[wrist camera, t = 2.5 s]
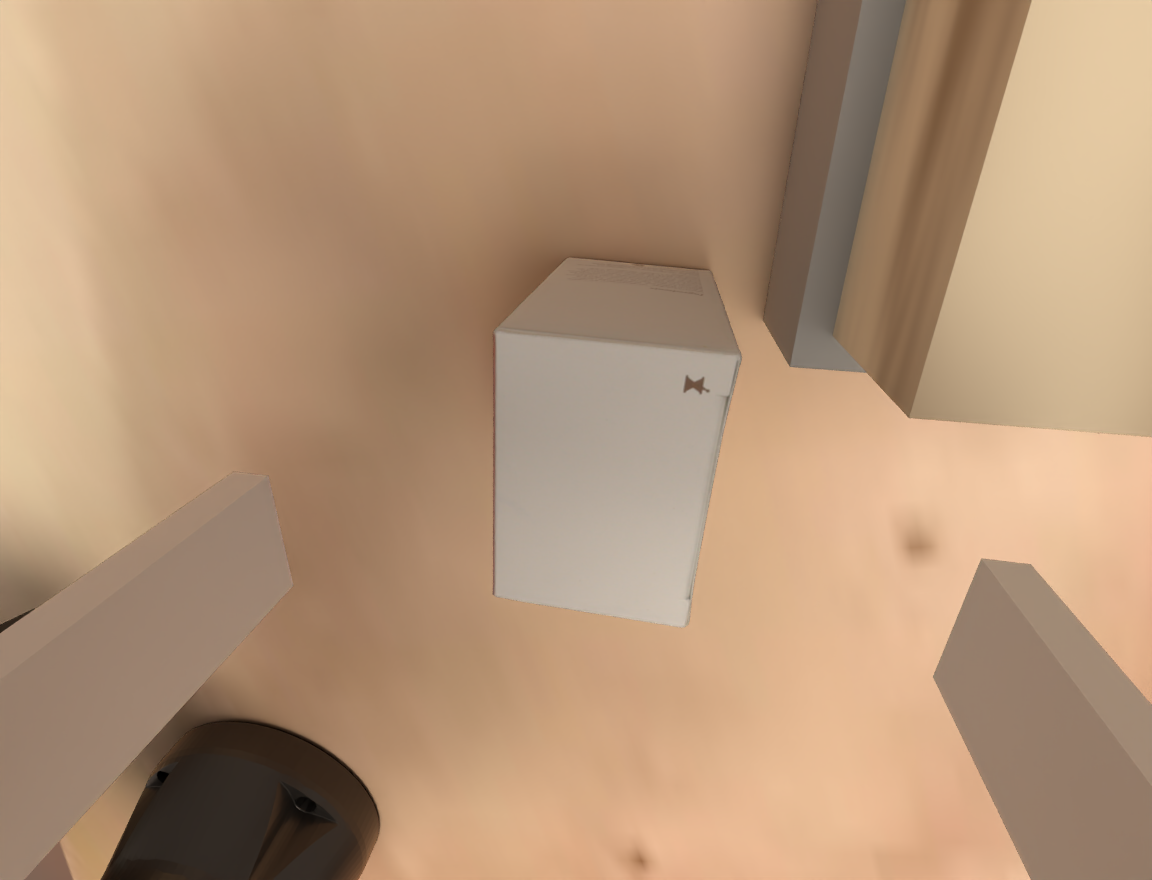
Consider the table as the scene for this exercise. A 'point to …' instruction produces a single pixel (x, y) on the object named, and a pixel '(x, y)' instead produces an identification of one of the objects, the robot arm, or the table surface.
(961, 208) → the block top
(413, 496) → the table surface
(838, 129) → the block base
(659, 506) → the small box
